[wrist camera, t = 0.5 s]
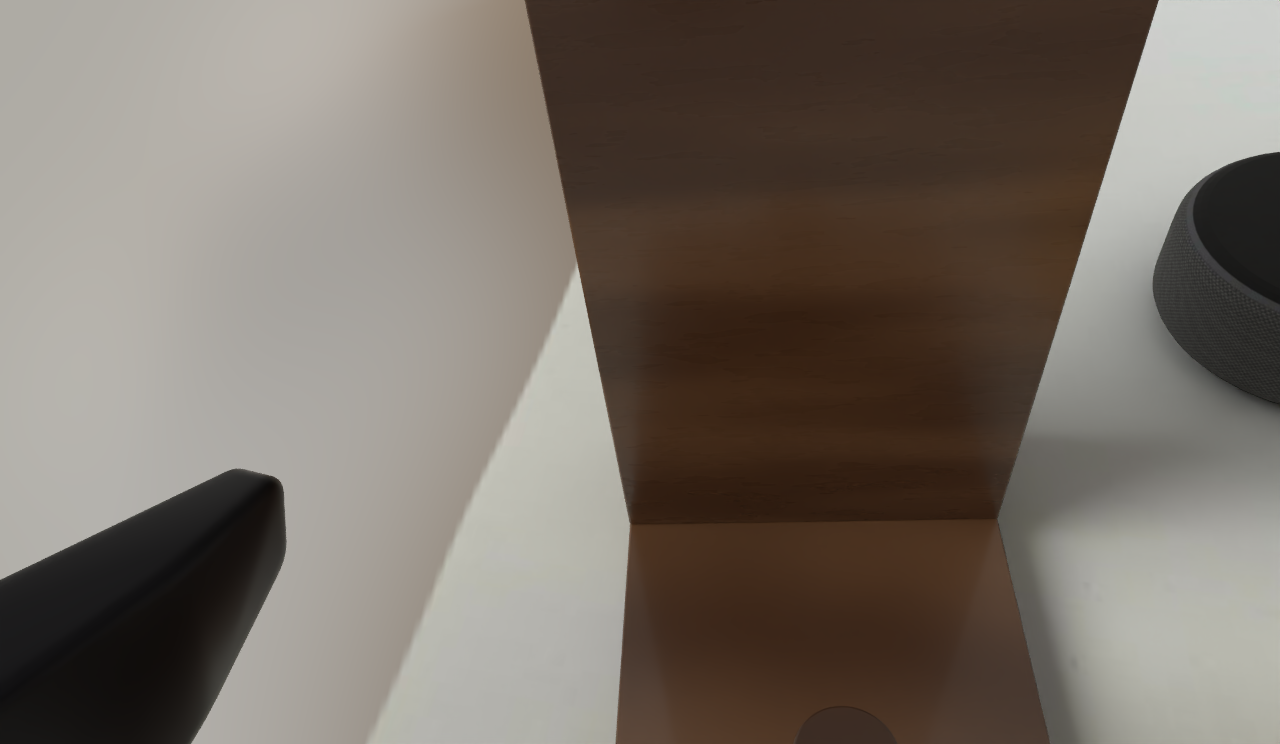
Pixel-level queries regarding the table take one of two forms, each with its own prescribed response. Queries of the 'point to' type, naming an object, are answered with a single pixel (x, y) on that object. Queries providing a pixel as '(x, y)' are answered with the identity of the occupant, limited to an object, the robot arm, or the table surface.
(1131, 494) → the table surface
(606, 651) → the table surface
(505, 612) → the table surface
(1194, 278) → the smart speaker
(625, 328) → the stand
